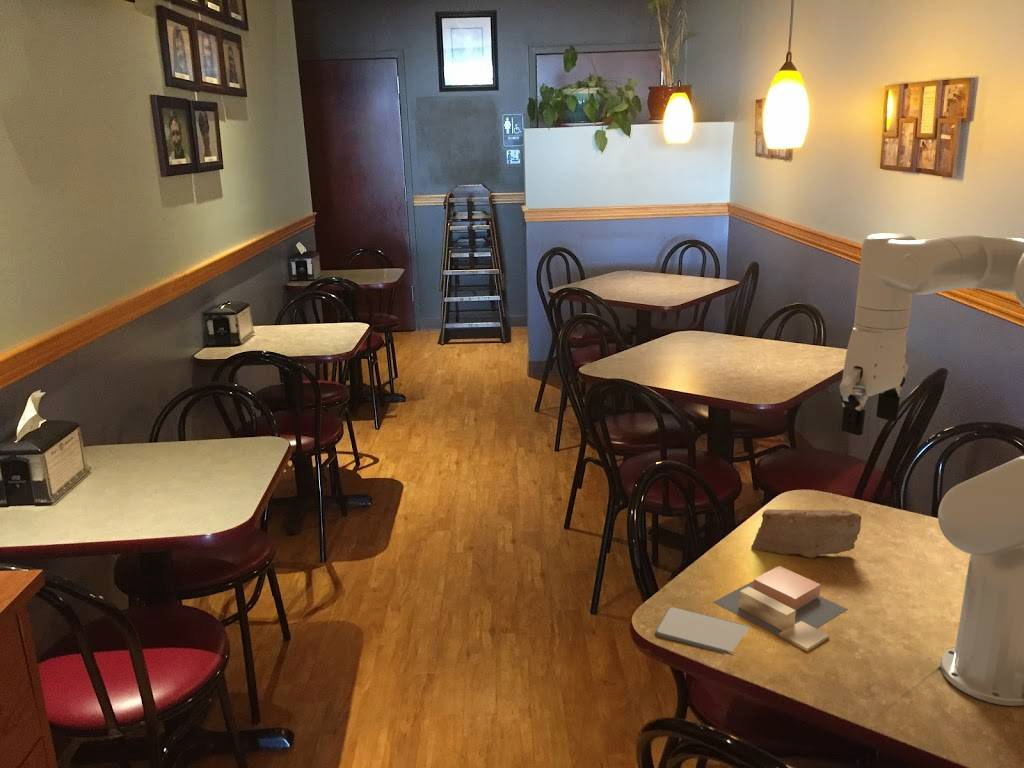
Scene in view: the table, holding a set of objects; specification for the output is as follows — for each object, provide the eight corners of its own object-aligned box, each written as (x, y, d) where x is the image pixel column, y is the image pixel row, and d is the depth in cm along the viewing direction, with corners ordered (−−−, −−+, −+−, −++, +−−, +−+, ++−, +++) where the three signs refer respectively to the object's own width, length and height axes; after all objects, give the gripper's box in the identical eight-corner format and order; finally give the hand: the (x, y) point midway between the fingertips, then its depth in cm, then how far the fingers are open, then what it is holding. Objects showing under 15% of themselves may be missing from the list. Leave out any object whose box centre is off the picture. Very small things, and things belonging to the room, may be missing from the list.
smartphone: (753, 658, 123) (654, 631, 130) (752, 663, 124) (653, 637, 130) (763, 628, 130) (669, 605, 137) (762, 634, 131) (669, 610, 137)
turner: (732, 610, 135) (733, 594, 134) (753, 599, 138) (755, 583, 138) (807, 651, 124) (808, 633, 124) (828, 638, 128) (830, 621, 127)
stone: (750, 546, 157) (751, 559, 154) (750, 504, 153) (751, 516, 150) (856, 549, 153) (860, 562, 149) (859, 505, 149) (863, 518, 145)
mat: (847, 611, 135) (847, 609, 135) (791, 645, 127) (791, 643, 126) (769, 574, 147) (769, 572, 147) (712, 603, 138) (713, 601, 138)
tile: (820, 584, 138) (779, 565, 144) (795, 598, 134) (753, 579, 140) (819, 597, 139) (778, 578, 145) (794, 612, 134) (752, 591, 141)
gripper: (888, 306, 133) (877, 408, 138) (825, 322, 123) (815, 431, 128) (935, 313, 127) (921, 420, 132) (873, 331, 117) (861, 445, 122)
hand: (869, 425), depth 130 cm, fingers open, 9 cm apart
